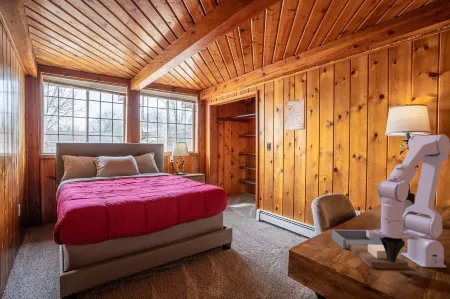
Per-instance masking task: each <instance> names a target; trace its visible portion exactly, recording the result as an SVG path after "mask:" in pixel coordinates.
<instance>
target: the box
mask: <svg viewBox="0 0 450 299" xmlns="http://www.w3.org/2000/svg"><path fill="white" fill-rule="evenodd" d="M366 230H367V229H330V239H331V240H332V241H333V242H335V243H336V244H337V245H339V247H341V249H343V250H347V249H348V244H380V245H383V244H382V242H381V240H380V238H373V237H372V238H368V237H367V236H366ZM348 250H349V249H348Z"/></svg>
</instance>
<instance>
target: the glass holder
mask: <svg viewBox="0 0 450 299" xmlns="http://www.w3.org/2000/svg"><path fill="white" fill-rule="evenodd" d="M415 195H416V193H413V192H408V196H407V198H406V199H405V200H404V201H403V215H404V213H405V210H406V208H407V207H410V206H412V205H414V204H415V200H416V196H415Z"/></svg>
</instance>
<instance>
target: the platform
mask: <svg viewBox="0 0 450 299" xmlns="http://www.w3.org/2000/svg"><path fill="white" fill-rule="evenodd" d="M368 245H380V244H348V250H349V251H350V252H352V253H353V254H354V255H355V256H356V257H357V258H359V259H360V260H361V261H363V263H365V264H366V265H367V266H368V267H370V268H371V269H373V268H374V269H409V261H407V260H405V259H404V258H403V257H401V256H399V255H398V256H397V258H396V261H395V262H390V261H389V260H388V259H387V258H376V257H375V256H373V255H372V254H371V253H369V252H368Z"/></svg>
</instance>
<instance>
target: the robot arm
mask: <svg viewBox="0 0 450 299" xmlns="http://www.w3.org/2000/svg"><path fill="white" fill-rule="evenodd" d="M407 143H408V144H407V145H408V146H407V147H408V151H407V153H406V155H405V157H404V159H403V161H402V163H399V164H396V165H395V167H394V168H393V169H392V171H391V173H390V174H389V175H388V177H387V178H386V180H383V181H381V182H379V183H378V185H377V189H376V193H377V196H378V200H379V201H378V202H379V204H381V206H380V211H381V212H380V213H381V214H380V228H379V229H365V230H366V236H367V237H368V238H372V237H373V238H380V240H381V242H382V244H383V246H384V249H385V252H386V255H387V259H388V260H389V261H390V262H395V261H396V258H397V256H399V253H400V251H401V250H402V248H403V247H404V246H405V244H406V243H405V241H404V240H407V252H401V253H400V255H402V256H404V257H405V258H407V259H408V260H410V261H412V262H414V263H415V264H416V265H418V266H420V267H422V268H446V267H447V265H446V264H445V262H444V259H445V258H444V256H445V248H444V246H443V244H442V243H441V242H440V241H438V240H437V238H438V237H440V236H441V234H442V233H443V217H442V215H441V214H440V213H438V211H437V210H436V209H434V205H435V200H436V194H437V189H438V184H439V179H440V173H441V169H442V163H443V162H445V161H447V160H448V157H449V154H450V139H449V137H448V136H447V135H446V134H444V133H443V134H431V135H430V134H429V135H416V134H414V135H412V136H411V137H410V138H409V139H408V141H407ZM421 162H422V165H421V170H420V176H419V179H418V185H417V190H416V194H415V195H416V196H415V204H414V205H412V206H410V207H407V208H406V210H405V213H404V215H403V201H404V200H405V199H406V198H407V196H408V193H409V190H410V186H409V185H410V184H411V182H412V181H413V179H414V178H415V176H416V170H415V169H416V167H417V166H418V165H419V164H420V163H421ZM404 229H405V230H404Z"/></svg>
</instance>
